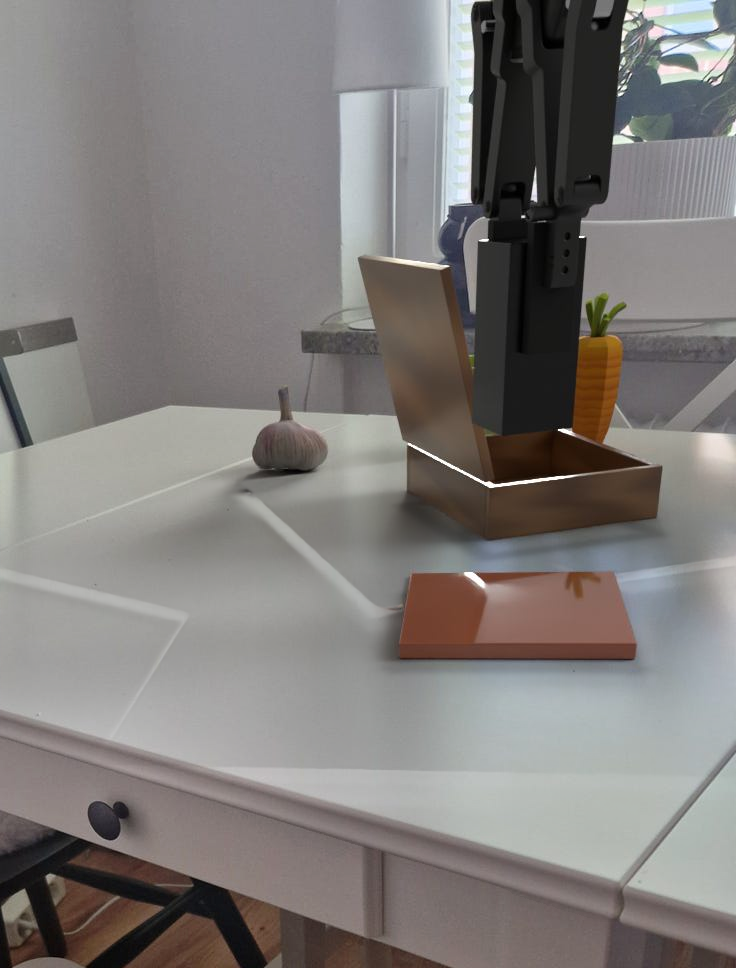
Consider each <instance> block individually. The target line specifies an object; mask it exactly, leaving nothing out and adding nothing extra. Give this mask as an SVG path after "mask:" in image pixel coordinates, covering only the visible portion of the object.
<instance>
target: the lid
mask: <svg viewBox="0 0 736 968" xmlns="http://www.w3.org/2000/svg"><path fill="white" fill-rule="evenodd" d="M357 262H358V266H359V271H360V274H361V277H362V282H363V286H364V290H365V295H366V299H367V302H368V306H369V310H370V313H371V314H370V315H371V318H372V323H373V327H374V330H375V334H376V338H377V342H378V348H379V351H380V355H381V358H382V359H381V360H382V363H383V366H384V370H385V374H386V379H387V383H388V387H389V391H390V394H391V399H392V403H393V406H394V411H395V415H396V419H397V423H398V427H399V430H400V435H401V439H402V441H403V442H406V443H407V444H411V445H413V446H415V447H417V448H419V449H421V450H423V451H425V452H427V453H429V454H431V455H432V456H434V457H436V458H438V459H440V460H442V461H444V462H446V463H448V464H450V465H452V466H454V467H456V468H458V469H459V470H461V471H463V472H465V473H467V474H469V475H471V476H473V477H475V478H477V479H479V480H481V481H483V482H484V483H487V482H489V481H492V480H494V479H495V478H494V473H493V468H492V464H491V459H490V454H489V449H488V444H487V440H486V435H485V430H484V428H482V427H479V426H477V425H475V424H472V404H473V372H472V368H471V363H470V358H469V355H470V354H469V349H468V344H467V340H466V335H465V330H464V325H463V320H462V315H461V310H460V305H459V302H458V296H457V292H456V291H457V290H456V287H455V282H454V277H453V272H452V267H451V266H450V265H444V264H438V263H430V262H422V261H415V260H410V259H402V258H395V257H388V256H380V255H374V254H367V253H366V254H362V255H360V256H358V257H357Z"/></svg>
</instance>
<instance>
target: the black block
mask: <svg viewBox="0 0 736 968" xmlns="http://www.w3.org/2000/svg"><path fill="white" fill-rule="evenodd" d="M587 240H588V237H586V236H580V242H579V256H578V270H577V284H576V297H575V311H574V325H573V339H572V350H569V351H560V352H550V353H541V354H531V355H526V354H522V335H523V316H524V297H525V277H526V258H527V236H524V237H513V238H501V239H489V240H488V239H480V240H477V250H476V251H477V254H476V255H477V256H476V280H475V281H476V282H475V283H476V287H475V311H474V312H475V315H474V316H475V318H474V341H473V343H474V346H473V347H474V348H473V355H474V373H473V404H472V424H475V425H477V426H479V427H482V428H484V429H487V430H489V431H491V432H494V433H496V434H498V435H501V436H510V435H518V434H527V433H535V432H544V431H552V430H561V429H565V430H569V429H572V427H573V416H574V403H575V390H576V376H577V363H578V350H579V338H580V337H581V335H580V333H581V322H582V308H583V306H582V305H583V295H584V281H585V269H586V267H585V266H586V255H587V243H588V241H587Z"/></svg>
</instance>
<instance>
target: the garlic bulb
mask: <svg viewBox="0 0 736 968" xmlns="http://www.w3.org/2000/svg"><path fill="white" fill-rule="evenodd" d="M277 395H278V401H279V410H280V419H279V420H278V421H276V422H271V423H269V424H267V425H265V426H264V427H262V429H261V430H260V431H259V432H258V434H257V436H256V439H255V443H254V445H253V447H252V451H251V456H252V460H253V462H254V464H255V465H256V466H257V467H258V468H259V469H263V470H270V469H271V470H272V469H275V470H284V469H287V470H300V471H309V470H312V469H316V468H318V467H320V466H321V465H322V464H323V463H324V462H325V461H326V460H327V457H328V453H329V445H328V442H327V440H326V438H325V437H324V435H323V434H322V433H321V432H320V431H319V430H317V429H315V428H314V427H310V426H306V425H303V424H301V423H299V422H298V421H296V420H294V417H293V413H292V406H291V401H290V394H289V387H288V385H287V384H283V385H282V386H280V387H279V388H278V391H277Z"/></svg>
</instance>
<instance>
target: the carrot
mask: <svg viewBox="0 0 736 968" xmlns="http://www.w3.org/2000/svg"><path fill="white" fill-rule="evenodd" d="M609 298H610V294H608V293H607V292H601V293H600V294H599V295H597V296H596V297H595V298H594V300H593V299H592V298H591V299H588V300H587V301H586V302H585V304H584V305H585V313H586V317H587V321H588V325H589V328H590V334H586V335H582V336H579V350H578V363H577V376H576V390H575V403H574V416H573V427H572V428H571V432H573V433H576V434H578V435H581V436H584V437H586V438H589V439H592V440H594V441H597V442H600V443H602V444H604V442H605V439H606V437H607V434H608V432H609V430H610V426H611V423H612V419H613V416H614V411H615V406H616V404H617V400H618V399H617V398H618V394H619V388H620V387H619V385H620V381H621V380H620V379H621V371H622V365H623V364H622V362H623V355H624V353H623V352H624V351H623V349H624V348H623V344H622V340H621V339H619V337H618V336H615V335H612V334H606V332H607V330H608V327H609V326H610V324H611V322H612V321H613V319H614V318H615V317H616V316H617V314H619V313H620V312H621V311H623V310H624V309H626V308H627V303H626V302H624V301H621V302H618V304H616V305H614V306H613V307H612V308H611V309H610V311H609V312H604V311H605V309H606V306H607V304H608V301H609Z"/></svg>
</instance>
